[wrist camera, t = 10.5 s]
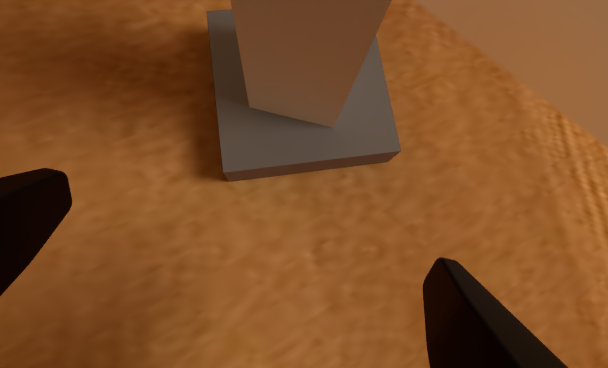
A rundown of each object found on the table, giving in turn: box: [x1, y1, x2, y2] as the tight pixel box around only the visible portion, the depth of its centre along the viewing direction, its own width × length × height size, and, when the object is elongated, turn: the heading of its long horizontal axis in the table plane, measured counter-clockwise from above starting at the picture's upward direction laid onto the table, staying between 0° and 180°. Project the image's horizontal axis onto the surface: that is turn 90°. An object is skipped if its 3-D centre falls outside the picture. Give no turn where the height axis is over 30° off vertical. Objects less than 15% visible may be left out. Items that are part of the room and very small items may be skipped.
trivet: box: [207, 10, 401, 182], centre depth 18 cm, size 9×9×2 cm
